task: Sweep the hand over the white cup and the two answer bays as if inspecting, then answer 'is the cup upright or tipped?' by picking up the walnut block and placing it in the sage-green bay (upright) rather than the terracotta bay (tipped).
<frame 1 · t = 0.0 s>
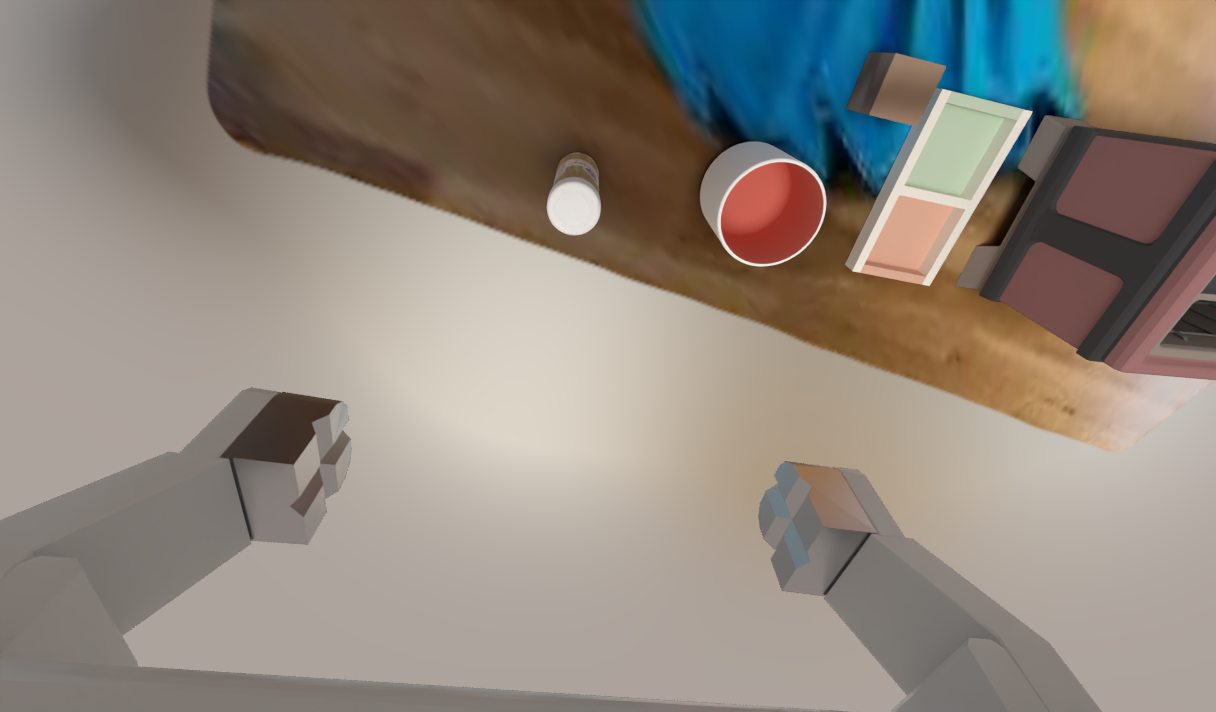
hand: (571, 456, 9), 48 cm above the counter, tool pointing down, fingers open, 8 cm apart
toaster: (1128, 223, 58), on the counter
cup: (742, 188, 54), on the counter
answer bays: (924, 192, 55), on the counter
walnut block: (879, 86, 49), on the counter
sprinkles bottle: (577, 173, 53), on the counter
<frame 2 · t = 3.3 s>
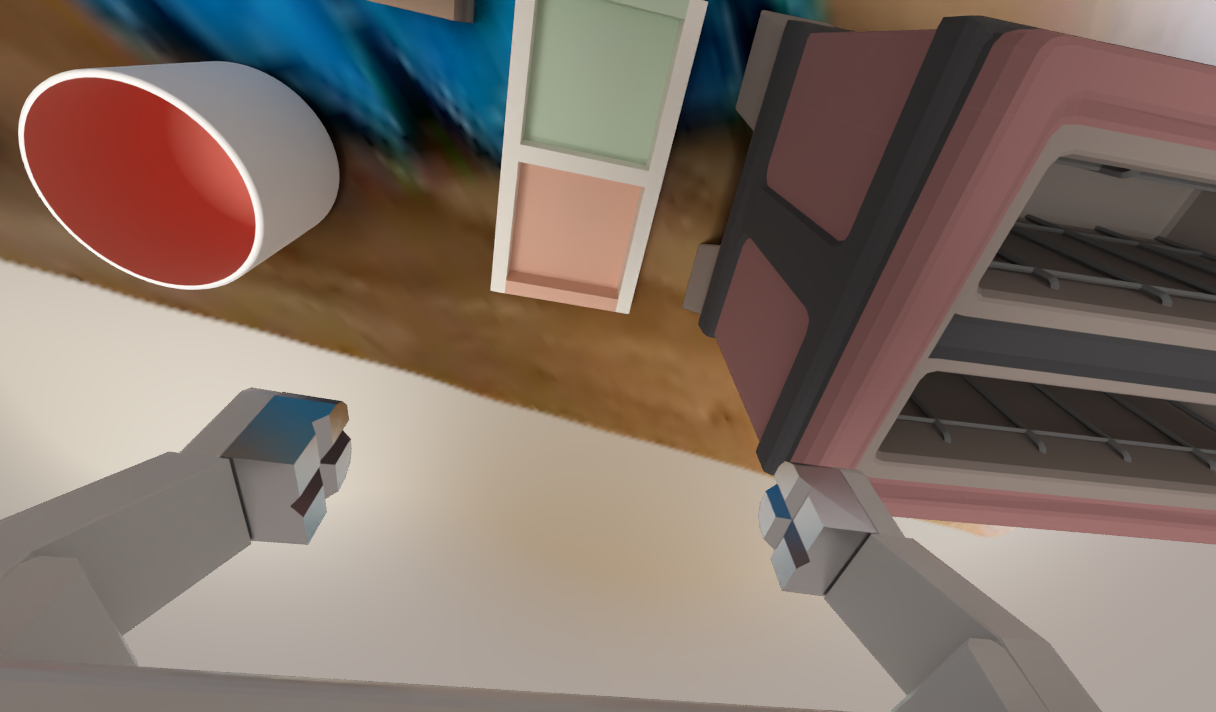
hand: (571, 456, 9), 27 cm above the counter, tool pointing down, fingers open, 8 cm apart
toaster: (943, 217, 36), on the counter
cup: (266, 151, 32), on the counter
answer bays: (584, 159, 32), on the counter
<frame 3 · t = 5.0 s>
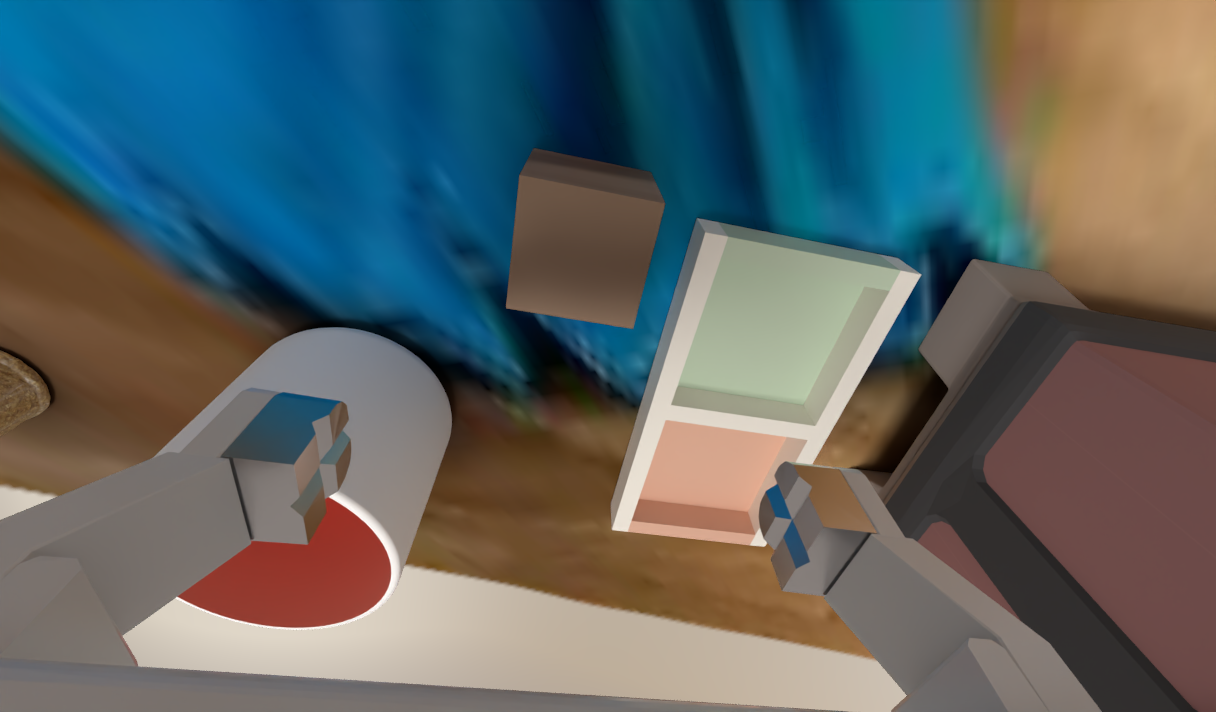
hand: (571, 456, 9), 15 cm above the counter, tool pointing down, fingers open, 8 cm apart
toaster: (1125, 443, 31), on the counter
cup: (365, 395, 27), on the counter
answer bays: (732, 399, 28), on the counter
walnut block: (583, 217, 22), on the counter
sprinkles bottle: (6, 376, 26), on the counter
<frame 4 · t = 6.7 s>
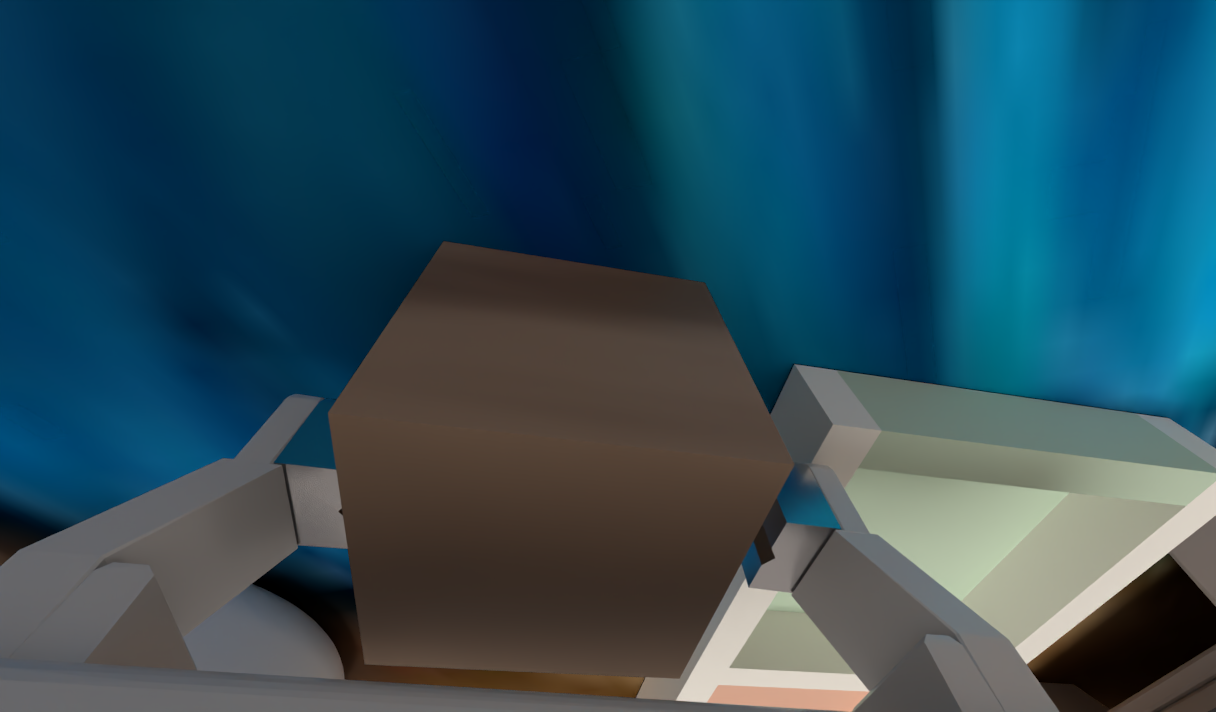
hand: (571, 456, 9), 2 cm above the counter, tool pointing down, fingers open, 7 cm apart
cup: (196, 630, 16), on the counter
answer bays: (822, 617, 17), on the counter
walnut block: (561, 367, 11), on the counter
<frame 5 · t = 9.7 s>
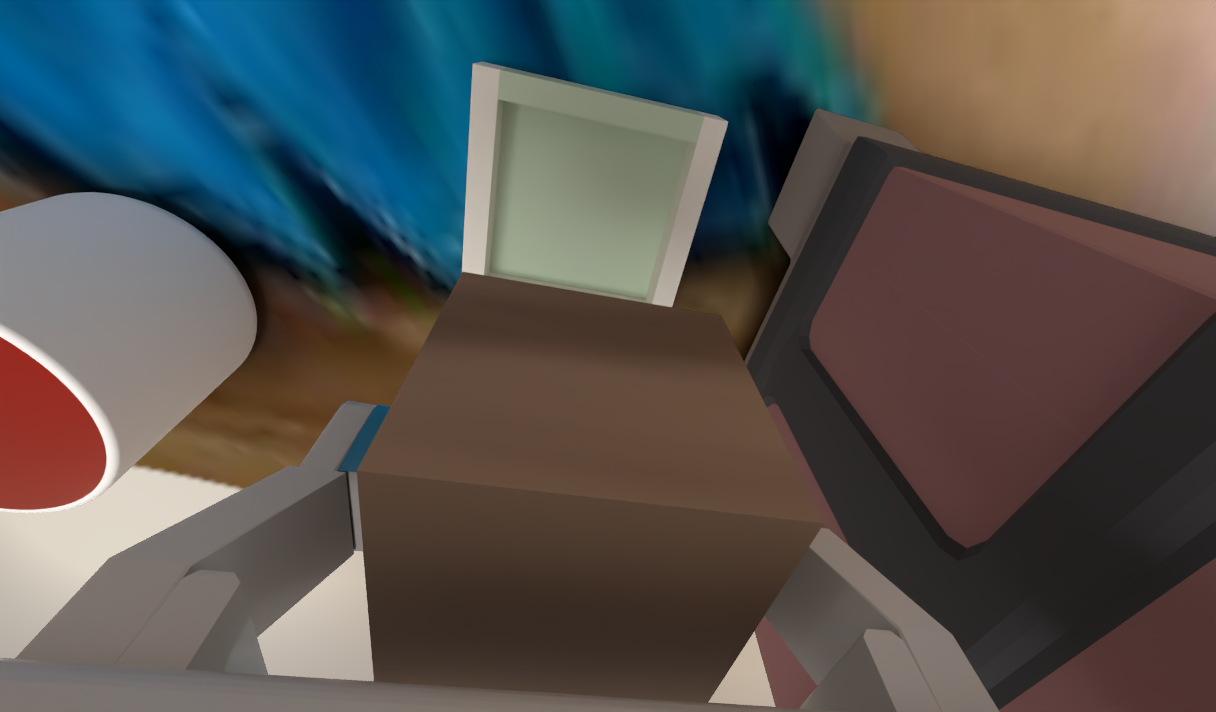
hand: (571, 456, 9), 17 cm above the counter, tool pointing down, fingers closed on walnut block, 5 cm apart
toaster: (1000, 360, 29), on the counter
cup: (164, 285, 25), on the counter
answer bays: (567, 293, 26), on the counter
walnut block: (574, 398, 11), point 15 cm above the counter, touching gripper
when the fingers open (4 cm above the counter, at t = 12.4 s): walnut block drops 2 cm, resting on answer bays.
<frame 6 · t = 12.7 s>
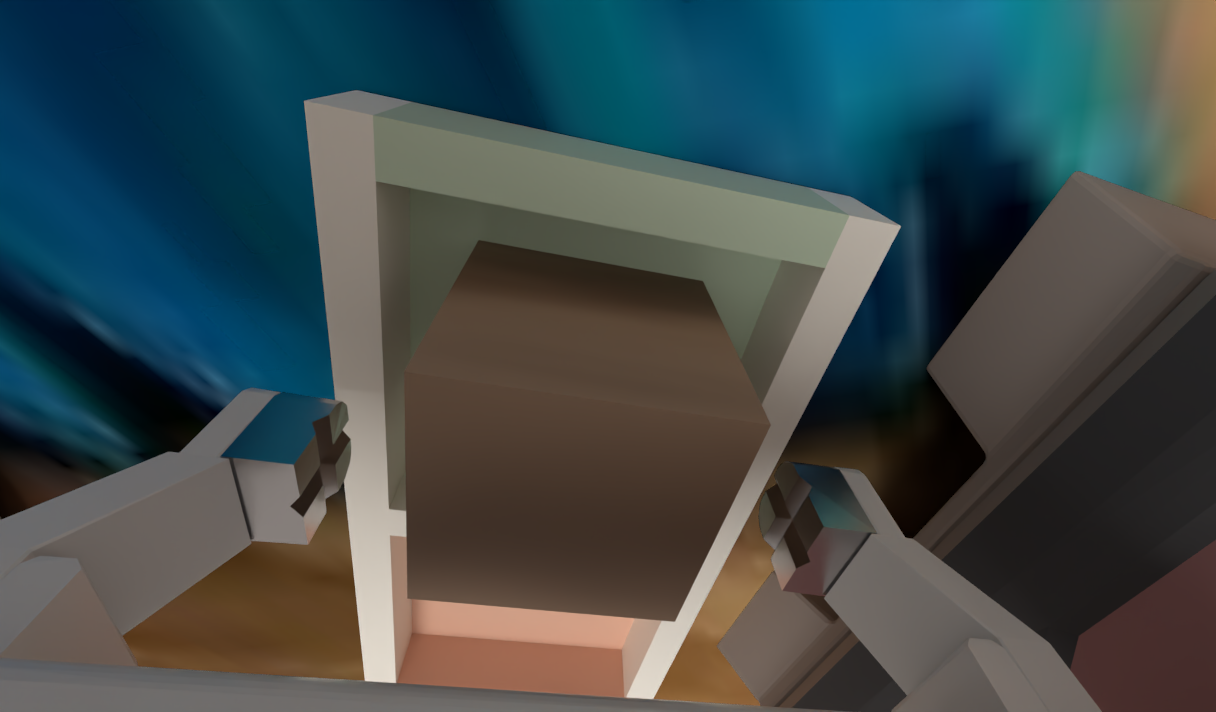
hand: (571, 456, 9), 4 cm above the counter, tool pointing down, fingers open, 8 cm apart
answer bays: (551, 482, 15), on the counter
walnut block: (575, 355, 12), resting on answer bays
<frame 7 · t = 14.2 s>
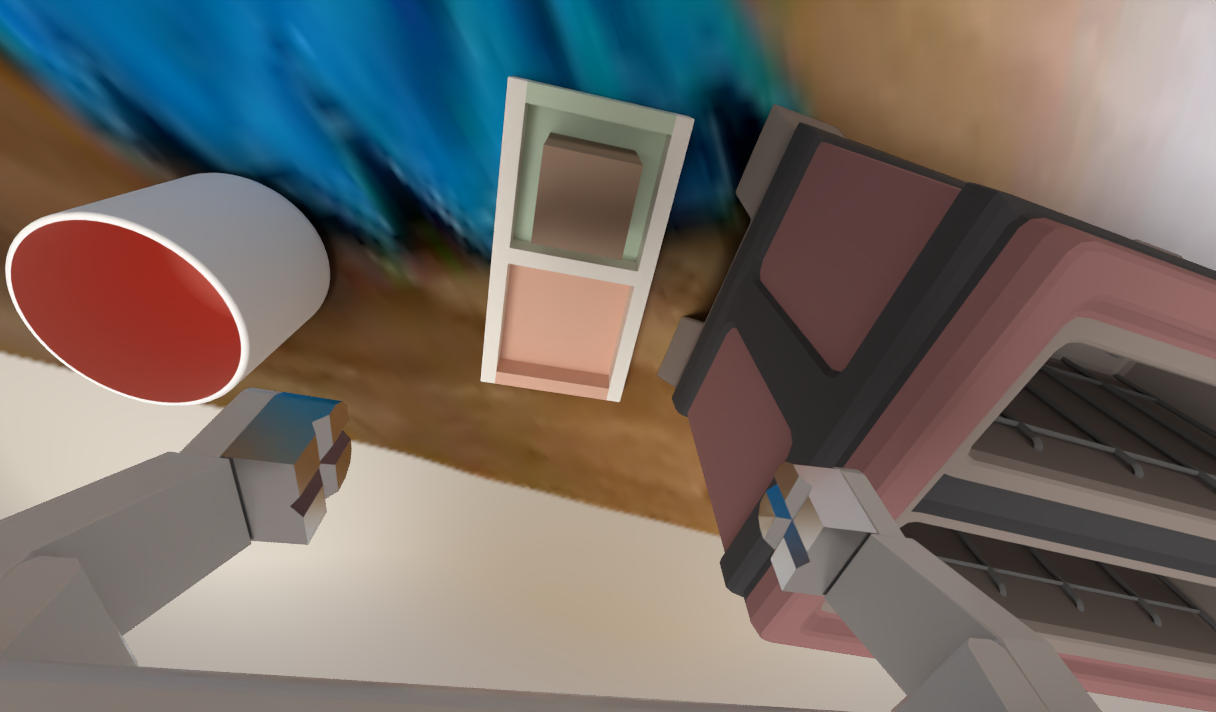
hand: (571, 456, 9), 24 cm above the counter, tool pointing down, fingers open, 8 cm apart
toaster: (920, 322, 36), on the counter
cup: (257, 249, 32), on the counter
answer bays: (574, 256, 32), on the counter
walnut block: (585, 185, 30), resting on answer bays
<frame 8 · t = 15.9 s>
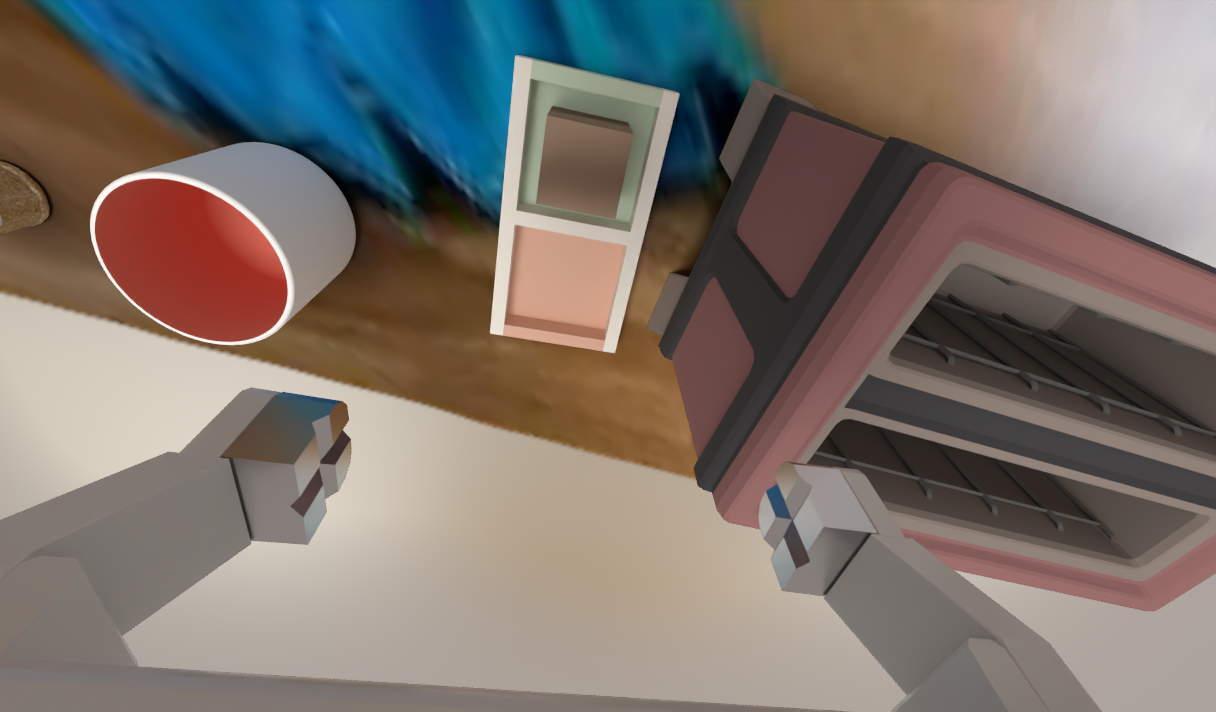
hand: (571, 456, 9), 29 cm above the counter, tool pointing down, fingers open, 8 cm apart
toaster: (883, 283, 40), on the counter
cup: (290, 213, 36), on the counter
answer bays: (573, 219, 36), on the counter
walnut block: (583, 153, 34), resting on answer bays
sprinkles bottle: (16, 191, 34), on the counter
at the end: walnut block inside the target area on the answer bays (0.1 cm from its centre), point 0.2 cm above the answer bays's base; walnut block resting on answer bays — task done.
